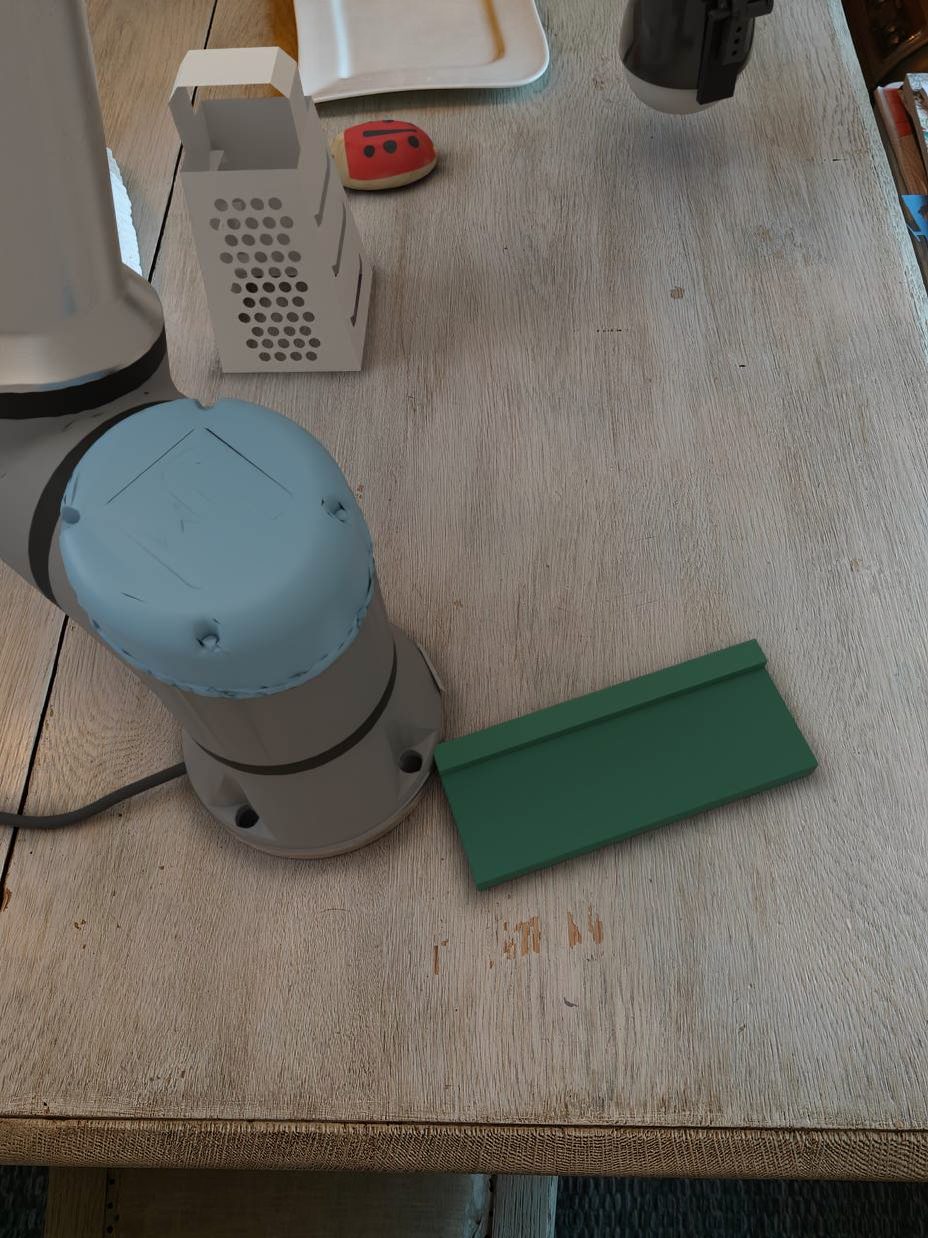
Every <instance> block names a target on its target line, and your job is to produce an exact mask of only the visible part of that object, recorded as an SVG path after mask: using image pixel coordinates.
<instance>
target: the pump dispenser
mask: <svg viewBox="0 0 928 1238" xmlns="http://www.w3.org/2000/svg"><path fill="white" fill-rule="evenodd" d="M716 8H718V0H627V1H626V5H625V9H624V13H623V17H622V22H621V27H620V33H619V41H618V55H619V59H620V61H621V63H622V66H623V72H624V75H625V78H626V81H627V83H628V85H629V88H630V89H631V91H632V92H633V94H634V95H635V97H637V99H638V100H639V101H640V102H641V103H643V104H644V105H646V106H647V107H649V108H650V109H653V110H655V111H658V112H661V113H664V114H669V115H680V116H683V115H692V114H696V113H699V112H703V111H705V110H708V109H710V108H712V107H713V106H715V105H716V104H718V103H719V102H721V101H722V100H719V101H715V102H711V103H708V104H704V105H699V103H698V102H697V101H696V96H697V90H698V84H699V77H700V71H701V65H702V59H703V52H704V46H705V40H706V34H707V27H708V21H709V13H708V12H710V10H712V9H716ZM756 29H757V17H755V18H751V19H750V20H749V25H748V30H747V35H746V40H745V45H744V50H743V55H742V57H741V59H740V64H739V69H738V74H737V79H736V83H738V80H739V79H740V77H741V75H742V73H743V72H744V70H745V69H746V68H747V67H748V65H749V63H750V62H751V60H752V59H751V58H752V54H753V52H754V45H755V38H756V31H757V30H756Z"/></svg>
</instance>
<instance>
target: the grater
mask: <svg viewBox="0 0 928 1238" xmlns="http://www.w3.org/2000/svg"><path fill="white" fill-rule="evenodd" d="M178 67H179V68H178V70H177V74H176V77H175V80H174V84H173V87H172V90H171V94H170V96H169V100H168V102H167V104H168V107H169V111H170V114H171V116H172V119H173V122H174V125H175V127H176V130H177V134H178V136H179V138H180V142H181V145H182V148H183V151H184V157H183V160H182V164H181V167H180V171H179V175H180V179H181V183H182V188H183V192H184V197H185V202H186V207H187V211H188V216H189V220H190V225H191V230H192V234H193V240H194V245H195V249H196V253H197V259H198V263H199V268H200V272H201V277H202V281H203V287H204V291H205V296H206V300H207V305H208V309H209V313H210V314H209V315H210V319H211V323H212V328H213V334H214V337H215V342H216V347H217V352H218V356H219V361H220V366H221V370H222V374H236V373H237V374H244V373H245V374H247V373H251V374H252V373H307V372H308V373H309V372H311V373H312V372H313V373H314V372H315V373H316V372H317V373H319V372H320V373H321V372H361V371H362V364H363V363H362V362H363V356H364V355H363V354H364V348H365V339H366V331H367V325H368V324H367V323H368V315H369V308H370V299H371V292H372V284H373V275H374V272H373V269H372V266H371V263H370V260H369V258H368V254H367V252H366V249H365V246H364V243H363V241H362V238H361V234H360V231H359V228H358V225H357V223H356V221H355V216H354V214H353V211H352V208H351V206H350V202H349V200H348V197H347V195H346V191H345V187H344V186H343V185H342V182H341V180H340V177H339V174H338V171H337V168H336V165H335V162H334V159H333V157H332V154H331V151H330V148H329V146H330V145H329V143H328V139H327V137H326V134H325V132H324V131H325V130H324V128H323V125H322V121H321V119H320V117H319V114H318V111H317V108H316V105H315V103H314V99H313V97H312V95H305V93H304V89H303V85H302V80H301V75H300V71H299V66H298V62H297V61H296V60H295V59H293V57H292V56H290V55H289V54H288V53H286V51H284V50H283V49H282V48H281V46H259V47H258V46H256V47H233V48H232V47H231V48H210V49H209V48H206V49H188V51H187V52H186V55H185V56H184V58H183V60H182V62H181V64H180V66H178ZM259 84H261V85H263V84H270V85H272V86H273V87H274V88H275V89H276V90H277V91H279V92H280V93H281V94H282V95H283V96H266V97H263V96H262V97H240V98H239V97H237V98H236V97H235V98H210V99H207V98H206V99H200V101H199V105H198V109H197V112H196V113H195V110H194V107H193V104H192V101H191V98H190V96H189V95H190V94H189V92H188V89H187V87H207V86H234V85H259ZM220 223H222V228H221V229H219V228H220V225H221V224H220ZM360 274H361V283H360V289H359V298H358V304H357V312H356V319H355V323H354V325H353V322H352V319H351V318H352V317H353V316H354V315H355V308H356V300H357V292H358V285H359V276H360ZM288 275H289V276H288ZM290 275H295V276H294V277H291V276H290ZM245 276H246V277H245ZM255 276H262V277H259V278H258V277H255ZM273 276H279V277H273ZM284 282H285V283H288V284H289V285H290V289H291V290H290V291H287V292H285V291H283V290H281V289H280V284H281V283H284ZM299 282H303V283H305V284H306V286H307V290H306V291H299V290H298V289H297V288H296V284H297V283H299ZM250 283H252V284H254V285H256V286H257V291H256V292H250V291H249V290H248V289H247V287H246V285H247V284H250ZM265 283H270V284H272V285H273V286H274V291H273V292H267V291H266V290H265V289H264V288H263V286H264V284H265ZM230 285H231V287H230ZM295 297H299V298H301V299H302V300H303V301H304V304H302V306H297V305H296V304H294V303H293V299H294V298H295ZM246 298H250V299H252V300H253V301H254V302H255V305H254V306H253V307H248V306H246V305H245V303H244V300H245V299H246ZM261 298H267V299H269V301H270V302H271V305H270V306H268V307H266V306H263V305H261V303H260V299H261ZM278 298H284V299H286V300H287V302H288V304H287V305H286V306H280V305H279V304H278V303H277V299H278ZM258 313H259V314H263V315H264V316H265V319H266V320H265V321H264V322H259V321H258V320H256V318H255V315H256V314H258ZM273 313H277V314H280V315H281V317H282V320H281V321H279V322H277V321H274V320H273V319H272V314H273ZM289 313H294V314H296V315H297V317H298V320H297V321H290V319H288V317H287V315H288V314H289ZM305 313H311V314H313V316H314V319H313V321H306V320H305V319H304V317H303V315H304V314H305ZM240 314H246V315H248V316H249V318H250V320H249V322H243V321H242V320H240V318H239V315H240ZM271 327H274V328H276V329H277V330H278V331H279V332H278V334H277V335H271V334H270V333H269V332H268V329H269V328H271ZM286 327H291V328H293V329H294V331H295V333H294V334H293V335H288V334H286V333H285V331H284V329H285V328H286ZM301 327H307V328H309V329H310V334H308V335H303V334H302V333H301V332H300V328H301ZM254 328H260V329H261V330H262V331H263V334H262V335H261V336H257V335H255V334H254V333H253V329H254ZM281 339H284V340H286V341H287V342H288V344H289V346H288V347H285V348H284V347H281V346H280V345H279V340H281ZM296 339H300V340H302V341H303V342H304V346H303V347H297V346H296V345H295V344H294V341H295V340H296ZM311 339H317V341H319V342H320V343H319V344H320V345H319V346H317V347H313V346H311V345H310V343H309V341H310V340H311ZM248 340H254V341H255V342H256V343H257V347H256V348H255V347H254V348H251V347H250V346H248V344H247V342H248ZM264 340H270V341H271V342H272V343H273V345H272V346H271V348H269V347H268V348H267V347H265V346H264V344H263V343H262V342H263V341H264ZM294 352H295V353H299V354H300V355H301V359H300V360H294V359H293V358H292V357H291V354H292V353H294ZM309 352H312V353H314V354H315V355H316V359H313V360H311V359H308V358H307V356H306V354H307V353H309ZM261 353H266V354H267V355H269V356H270V359H269V360H267V361H265V360H263V359H261V358H260V354H261ZM277 353H282V354H283V355H285V359H284V360H282V361H281V360H278V359H277V358H276V357H275V354H277Z"/></svg>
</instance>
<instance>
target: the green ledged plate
mask: <svg viewBox="0 0 928 1238" xmlns="http://www.w3.org/2000/svg"><path fill="white" fill-rule="evenodd" d="M767 663H768V658H767V657H766V654H765V653H764V651H763V649H762V647H761V646H760V644H759V641H758V640H757V639H756V638H752V639H750V640H746V641H743V642H740V643H737V644H734V645H731V646H728V647H725V648H722V649H719V650H716V651H713V652H710V653H707V654H704V655H701V656H699V657H695V658H691V659H688V660H685V661H683V662H680V663H677V664H674V665H671V666H668V667H666V668H661V669H659V670H656V671H653V672H649V673H647V674H643V675H641V676H638V677H635V678H633V679H630V680H627V681H623V682H620V683H618V684H617V683H616V684H615V685H611V686H608V687H605V688H602V689H599V690H596V691H593V692H590V693H588V694H585V695H582V696H581V695H580V696H578V697H576V698H573V699H569V700H566V701H564V702H560V703H557V704H555V705H552V706H549V707H545V708H543V709H540V710H539V709H538V710H536V711H534V712H531V713H528V714H524V715H522V716H518V717H515V718H512V719H509V720H506V721H504V722H501V723H497V724H494V725H492V726H488V727H486V728H482V729H479V730H477V731H474V732H471V733H468V734H465V735H461V736H459V737H456V738H453V739H449V740H447V741H445V742H444V743H441V744H438V745H436V747H435V750H434V753H433V755H434V759H435V762H436V766H437V774H438V776H439V779H440V783H441V786H442V788H443V790H444V794H445V797H446V800H447V803H448V806H449V810H450V812H451V815H452V819H453V821H454V824H455V827H456V831H457V833H458V837H459V839H460V842H461V845H462V848H463V851H464V854H465V856H466V860H467V863H468V865H469V868H470V872H471V874H472V877H473V880H474V884H475V887H476V889H477V891H478V892H481V891H483V890H487V889H488V888H491V887H494V886H497V885H500V884H503V883H505V882H508V881H511V880H514V879H518V878H520V877H523V876H526V875H529V874H531V873H535V872H537V871H540V870H542V869H546V868H548V867H551V866H554V865H557V864H560V863H563V862H565V861H568V860H571V859H575V858H577V857H580V856H582V855H585V854H588V853H591V852H594V851H596V850H600V849H603V848H606V847H608V846H611V845H614V844H617V843H619V842H622V841H625V840H629V839H631V838H633V837H636V836H639V835H642V834H645V833H648V832H651V831H654V830H656V829H659V828H662V827H665V826H667V825H668V826H669V825H670V824H674V823H676V822H679V821H682V820H685V819H687V818H690V817H694V816H696V815H699V814H701V813H705V812H708V811H710V810H713V809H716V808H719V807H721V806H722V807H723V806H725V805H728V804H730V803H734V802H736V801H739V800H742V799H744V798H747V797H750V796H753V795H756V794H758V793H761V792H764V791H767V790H770V789H773V788H775V787H776V788H777V787H778V786H781V785H784V784H788V783H790V782H793V781H795V780H798V779H799V780H800V779H801V778H804V777H806V776H810V775H812V774H813V773H814V772H815V771H816V769H817V768H818V767H819V762H818V760H817V759H816V756H815V755H814V753H813V751H812V750H811V747H810V746H809V744H808V742H807V740H806V739H805V737H804V735H803V733H802V731H801V730H800V728H799V726H798V724H797V721H795V719H794V717H793V714H792V713H791V711H790V710H789V708H788V706H787V704H786V702H785V700H784V699H783V697H782V695H781V693H780V691H779V690H778V688H777V686H776V684H775V683H774V681H773V679H772V677H771V675H770V673H769V672H768V670H767V668H766V665H767Z"/></svg>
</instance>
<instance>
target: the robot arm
mask: <svg viewBox="0 0 928 1238" xmlns="http://www.w3.org/2000/svg"><path fill="white" fill-rule="evenodd" d="M774 4H775V0H718V8H716V9H712V10H710V12H708V13H709V21H708V27H707V34H706V40H705V46H704V52H703V59H702V65H701V71H700V77H699V84H698V90H697V96H696V101H697V102H698V103H699V105H704V104H708V103H711V102H715V101H719V100H721V101H723V100H726V99H730V98H734V94H735V89H736V84H737V82H736V79H737V74H738V69H739V64H740V59H741V57H742V55H743V50H744V45H745V40H746V35H747V30H748V25H749V20H750V19H751V18H755V17H756V18H759V17H763V16H767V15H771V14H772V12H773V11H774ZM92 39H93V38H92V31H91V23H90V16H89V9H88V2H87V0H0V560H1V561H2V562H3V563H4V564H6V566H7V567H9V568H11V570H13V571H14V572H15V573H16V574H17V575H18V576H20V577H21V578H22V579H23V580H24V581H25V582H27V583H28V584H30V586H32V587H33V588H34V589H35V590H36V591H38V592H39V594H41V595H43V597H44V598H46V599H47V600H48V601H50V602H51V603H52V604H53V605H55V606H56V607H57V608H58V609H60V610H61V611H62V612H63V613H64V614H65V615H66V616H67V617H69V618H70V619H71V620H72V621H74V623H76V624H77V625H78V626H79V627H80V628H81V629H83V630H84V632H86V633H87V634H88V635H89V636H91V637H92V638H93V639H94V640H95V641H96V642H98V643H99V644H100V645H101V646H102V647H103V648H105V649H106V650H107V651H108V652H109V653H110V654H111V655H113V656H114V657H115V658H116V659H117V660H119V661H120V662H121V663H122V664H123V665H124V666H126V668H127V669H129V670H130V671H131V672H132V673H133V674H134V675H135V676H137V678H138V679H140V681H142V683H144V685H146V686H147V687H148V688H149V689H150V690H151V691H152V692H153V693H154V694H155V696H156V697H157V698H158V699H159V700H160V701H161V703H162V704H163V706H165V708H166V709H167V710H168V711H169V713H170V714H171V715H172V716H173V717H174V718H175V720H176V721H177V722H178V724H180V726H181V744H182V745H181V746H182V747H181V749H182V750H181V751H182V757H183V761H181V762H179V763H177V764H174V765H171V766H169V767H166V768H165V769H163V770H162V769H161V770H160V771H158V772H155V773H153V774H150V775H148V776H146V777H143V778H141V779H139V780H136V781H134V782H132V783H128V784H127V785H125V786H123V787H122V786H121V787H120V788H118V789H116V790H114V791H112V792H110V793H108V794H106V795H105V796H102V797H100V798H98V799H97V800H95V801H93V802H91V803H89V804H87V805H85V806H83V807H80V808H78V809H75V810H72V811H69V812H65V813H60V814H54V815H53V814H52V815H38V816H37V815H23V814H16V813H11V812H6V811H2V810H1V811H0V825H4V826H9V827H16V828H23V829H35V830H37V829H39V830H41V829H43V830H44V829H54V828H62V827H67V826H71V825H75V824H78V823H80V822H83V821H86V820H88V819H91V818H93V817H95V816H97V815H99V814H101V813H103V812H105V811H106V810H108V809H111V808H112V807H114V806H116V805H117V804H121V803H122V802H124V801H126V800H128V799H130V798H132V797H135V796H137V795H140V794H142V793H144V792H146V791H149V790H151V789H153V788H156V787H159V786H161V785H163V784H165V783H168V782H171V781H173V780H175V779H177V778H180V777H183V776H184V775H187V778H188V781H189V783H190V786H191V788H192V789H193V791H194V793H195V796H196V797H197V798H198V800H199V801H200V803H201V804H202V806H203V807H204V808H205V809H206V811H207V812H208V813H209V814H210V815H211V817H212V818H213V819H214V820H215V821H216V822H217V823H218V824H219V825H220V826H221V827H222V828H224V830H225V831H227V833H229V834H230V835H232V836H233V837H234V838H236V839H237V840H238V841H239V842H242V843H243V844H245V845H247V846H249V847H251V848H253V849H255V850H258V851H259V852H263V853H266V854H269V855H271V856H275V857H281V858H287V859H296V860H317V859H326V858H330V857H335V856H340V855H343V854H347V853H350V852H353V851H356V850H359V849H361V848H363V847H365V846H367V845H369V844H371V843H373V842H375V841H377V840H378V839H380V838H382V837H383V836H385V835H386V834H388V833H389V832H390V831H392V830H393V829H394V828H396V827H397V826H398V825H400V823H402V821H403V822H404V820H405V819H406V818H407V817H408V816H409V815H410V814H411V813H412V812H413V811H414V810H415V808H416V807H417V806H418V805H419V804H420V802H421V801H422V799H423V798H424V797H425V795H426V793H427V792H428V790H429V788H431V785H432V784H433V781H434V779H435V777H436V774H437V773H438V771H437V766H436V762H435V759H434V755H433V753H434V750H435V747H436V745H438V744H441V743H444V742H446V725H447V724H446V713H445V708H444V702H443V698H442V697H443V696H442V691H443V692H444V693H447V691H446V689H445V686H444V684H443V682H442V681H441V679H440V677H439V675H438V673H437V671H436V669H435V667H434V665H433V663H432V661H431V658H430V657H429V654H428V653H427V650H426V648H425V647H424V646H423V645H422V644H421V643H419V642H418V641H416V643H417V644H416V643H415V642H414V641H413V640H412V639H411V638H410V637H409V636H408V635H407V634H406V633H405V632H403V631H402V630H400V628H398V627H397V626H395V625H394V624H393V623H392V622H390V618H389V615H388V611H387V607H386V603H385V600H384V596H383V592H382V588H381V585H380V580H379V576H378V571H377V567H376V561H375V559H374V555H373V554H374V553H373V552H374V549H373V548H374V546H373V540H372V539H373V538H372V535H371V531H370V529H369V525H368V523H367V521H366V519H365V516H364V515H365V514H364V512H363V510H362V508H361V507H360V505H359V504H358V501H357V498H356V496H355V493H354V491H353V489H352V488H351V487H350V486H349V483H348V479H347V478H346V476H345V474H344V472H343V471H342V469H341V467H340V466H339V464H338V462H337V461H336V459H335V458H334V456H333V455H331V453H330V452H329V450H328V449H327V448H326V446H324V445H323V443H322V442H320V440H318V439H317V438H316V436H314V435H313V434H312V433H310V431H309V430H307V429H306V428H305V427H303V425H301V424H299V423H298V422H296V421H295V420H293V419H291V418H290V417H288V416H286V415H284V414H282V413H280V412H279V411H277V410H274V409H273V408H269V407H266V406H263V405H261V404H257V403H255V402H252V401H247V400H242V399H237V398H230V397H219V398H218V400H217V402H216V403H215V404H214V405H206V406H205V405H202V403H201V402H200V400H198V398H196V397H190V398H189V397H188V396H187V395H185V394H184V393H182V392H181V391H179V390H178V388H177V386H176V385H175V383H174V381H173V378H172V374H171V370H170V368H171V367H170V360H169V359H170V358H169V350H168V349H169V348H168V342H167V331H166V323H165V314H164V313H165V312H164V306H163V303H162V301H161V298H160V296H159V293H158V292H157V290H156V289H155V287H154V286H153V285H152V284H151V283H150V281H149V280H147V279H146V278H145V277H143V276H142V275H141V274H140V273H138V272H137V271H135V270H134V269H133V268H132V267H130V266H128V265H127V264H126V263H124V262H123V258H122V251H121V243H120V237H119V229H118V222H117V215H116V206H115V200H114V193H113V184H112V178H111V177H112V176H111V171H110V163H109V156H108V149H107V142H106V141H107V140H106V135H105V126H104V120H103V119H104V118H103V112H102V105H101V98H100V91H99V83H98V75H97V68H96V62H95V61H96V60H95V55H94V45H93V40H92ZM719 102H720V101H719ZM441 690H442V691H441Z"/></svg>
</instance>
